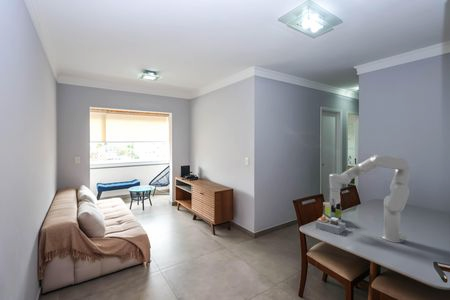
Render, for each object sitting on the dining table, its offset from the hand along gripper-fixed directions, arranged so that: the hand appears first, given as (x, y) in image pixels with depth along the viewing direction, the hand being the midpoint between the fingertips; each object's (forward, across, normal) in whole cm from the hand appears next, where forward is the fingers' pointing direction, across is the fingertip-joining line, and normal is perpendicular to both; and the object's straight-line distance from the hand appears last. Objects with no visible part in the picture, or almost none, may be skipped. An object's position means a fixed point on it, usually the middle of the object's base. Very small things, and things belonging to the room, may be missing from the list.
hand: (335, 210), depth 177 cm
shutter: (+10, 0, -10) cm, 14 cm away
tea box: (+16, -19, -12) cm, 28 cm away
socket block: (+15, +1, -5) cm, 16 cm away
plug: (+16, +1, -2) cm, 16 cm away
